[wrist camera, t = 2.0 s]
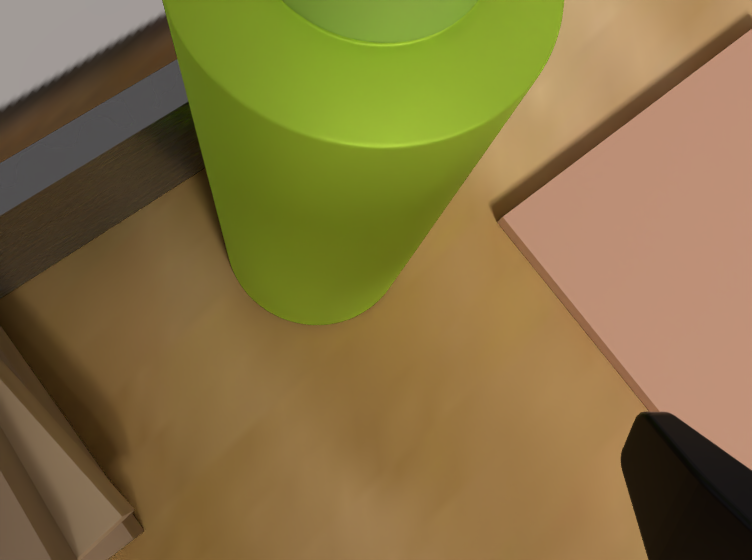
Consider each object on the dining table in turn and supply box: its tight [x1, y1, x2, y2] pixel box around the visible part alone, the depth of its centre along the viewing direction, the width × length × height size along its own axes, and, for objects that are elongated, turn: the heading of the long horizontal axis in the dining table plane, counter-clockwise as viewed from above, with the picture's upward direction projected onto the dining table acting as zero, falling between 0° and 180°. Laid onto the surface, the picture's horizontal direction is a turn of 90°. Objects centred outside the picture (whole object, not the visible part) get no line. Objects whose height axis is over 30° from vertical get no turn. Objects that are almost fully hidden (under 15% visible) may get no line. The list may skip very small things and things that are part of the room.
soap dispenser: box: [162, 0, 564, 325], centre depth 12 cm, size 6×7×20 cm
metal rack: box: [0, 59, 205, 298], centre depth 18 cm, size 28×11×4 cm, turn 128°
